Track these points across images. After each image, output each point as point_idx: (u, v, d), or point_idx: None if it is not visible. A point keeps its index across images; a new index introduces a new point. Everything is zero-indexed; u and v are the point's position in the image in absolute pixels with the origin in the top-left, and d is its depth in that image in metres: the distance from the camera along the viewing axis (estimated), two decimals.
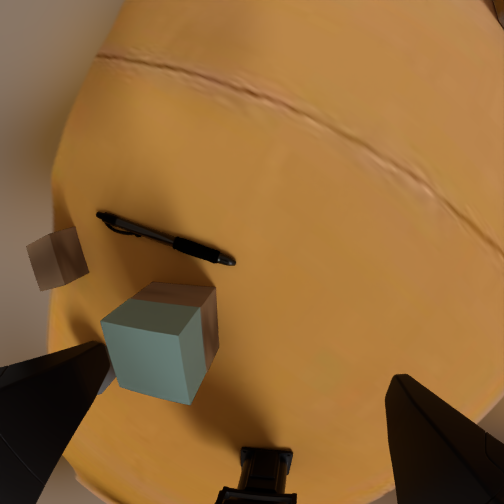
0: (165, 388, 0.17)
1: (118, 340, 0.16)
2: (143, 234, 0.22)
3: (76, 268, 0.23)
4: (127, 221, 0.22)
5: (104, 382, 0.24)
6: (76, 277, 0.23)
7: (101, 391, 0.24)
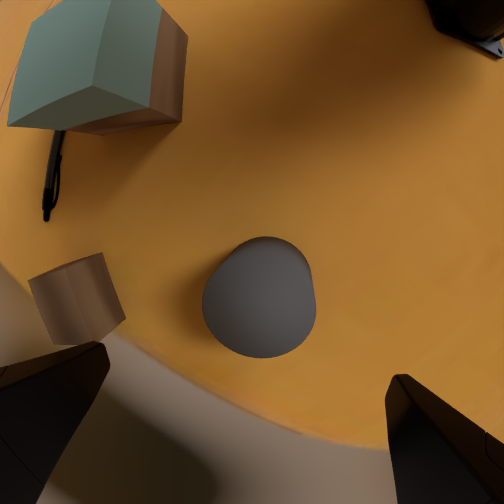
0: (89, 5, 0.06)
1: (23, 91, 0.07)
2: (53, 146, 0.15)
3: (78, 261, 0.15)
4: (47, 172, 0.16)
5: (263, 253, 0.11)
6: (82, 260, 0.15)
7: (294, 273, 0.11)
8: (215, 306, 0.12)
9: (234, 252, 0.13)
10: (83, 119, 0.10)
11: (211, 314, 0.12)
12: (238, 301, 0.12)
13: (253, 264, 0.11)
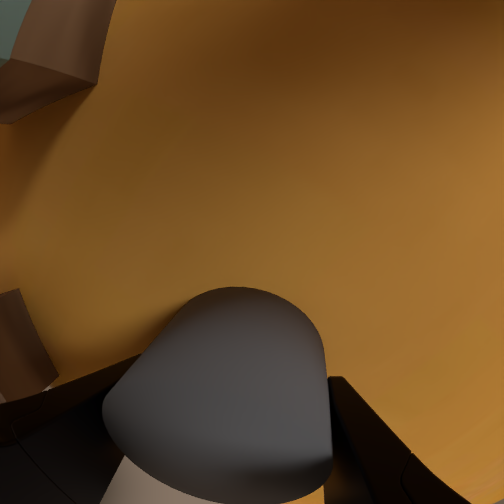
0: None
1: None
2: None
3: None
4: None
5: (210, 369, 0.04)
6: None
7: (288, 423, 0.04)
8: (129, 439, 0.05)
9: (164, 333, 0.06)
10: None
11: (127, 447, 0.05)
12: (167, 445, 0.04)
13: (183, 399, 0.04)
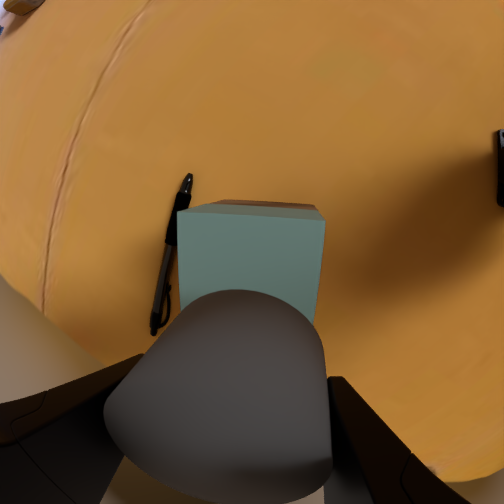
0: (289, 259, 0.11)
1: None
2: (162, 279, 0.20)
3: None
4: (154, 297, 0.21)
5: (211, 372, 0.04)
6: None
7: (288, 425, 0.04)
8: (131, 441, 0.05)
9: (165, 335, 0.06)
10: None
11: (128, 448, 0.05)
12: (168, 447, 0.04)
13: (184, 402, 0.04)
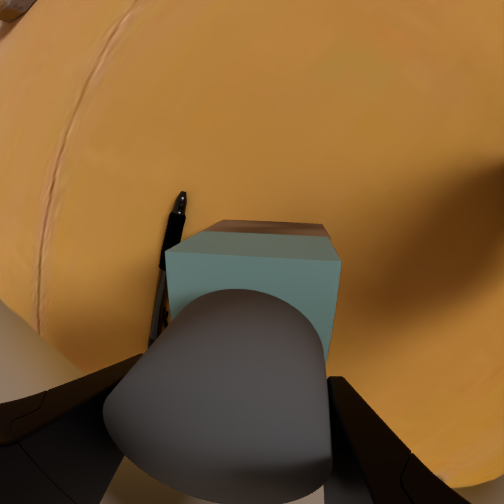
0: (298, 306, 0.09)
1: None
2: (158, 306, 0.18)
3: None
4: (151, 324, 0.19)
5: (211, 371, 0.04)
6: None
7: (288, 425, 0.04)
8: (130, 441, 0.05)
9: (165, 335, 0.06)
10: None
11: (128, 448, 0.05)
12: (167, 446, 0.04)
13: (183, 401, 0.04)
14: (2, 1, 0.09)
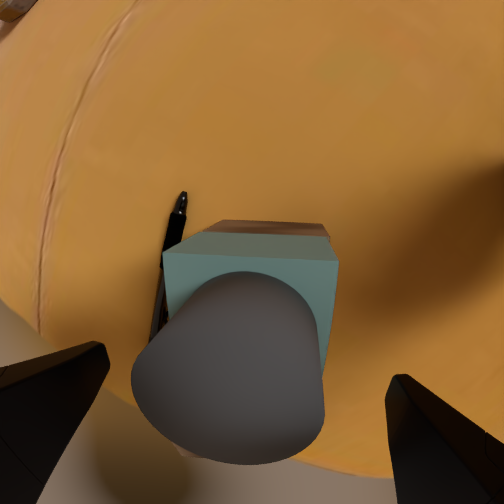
0: None
1: None
2: (159, 306, 0.18)
3: None
4: (151, 324, 0.19)
5: (227, 325, 0.06)
6: None
7: (286, 366, 0.05)
8: (153, 399, 0.06)
9: (185, 306, 0.07)
10: None
11: (149, 408, 0.06)
12: (187, 399, 0.06)
13: (205, 349, 0.05)
14: (3, 0, 0.09)
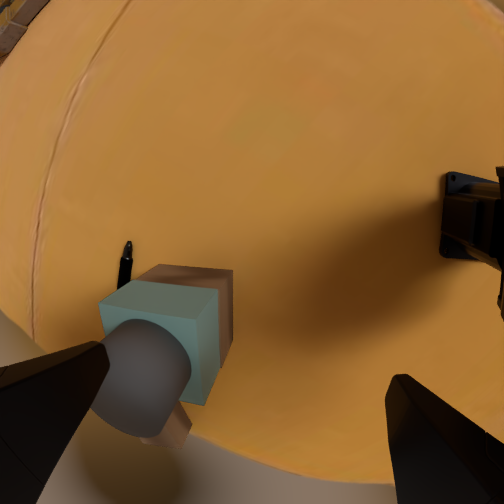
0: None
1: None
2: None
3: None
4: None
5: None
6: None
7: (131, 382, 0.09)
8: None
9: None
10: None
11: None
12: (98, 391, 0.10)
13: None
14: None
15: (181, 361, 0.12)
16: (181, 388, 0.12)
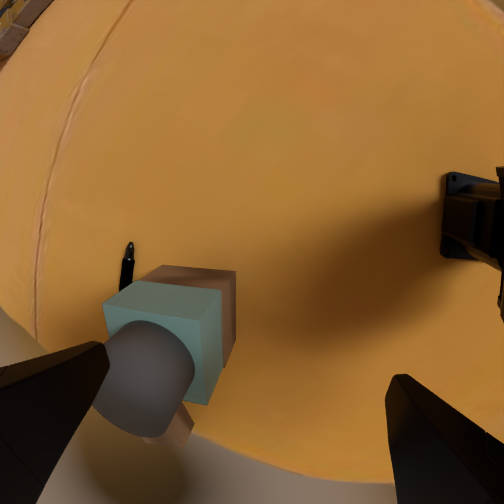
0: None
1: None
2: None
3: None
4: None
5: (113, 358, 0.10)
6: None
7: (136, 382, 0.09)
8: None
9: (106, 342, 0.12)
10: None
11: None
12: (103, 392, 0.10)
13: None
14: None
15: (185, 362, 0.13)
16: (185, 388, 0.12)
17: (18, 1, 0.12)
